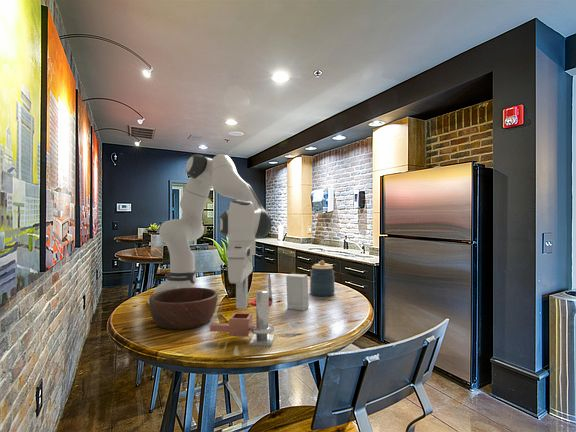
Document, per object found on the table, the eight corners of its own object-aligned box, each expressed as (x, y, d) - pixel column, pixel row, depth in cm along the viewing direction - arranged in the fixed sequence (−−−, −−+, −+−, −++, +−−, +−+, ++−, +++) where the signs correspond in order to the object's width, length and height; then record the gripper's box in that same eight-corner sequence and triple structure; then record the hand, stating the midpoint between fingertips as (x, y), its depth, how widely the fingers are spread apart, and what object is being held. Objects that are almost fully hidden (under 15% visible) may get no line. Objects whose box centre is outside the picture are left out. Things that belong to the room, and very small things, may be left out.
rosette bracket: (207, 344, 98) (207, 293, 98) (214, 335, 106) (214, 288, 106) (272, 346, 97) (272, 295, 97) (275, 336, 104) (275, 289, 104)
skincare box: (308, 307, 138) (309, 274, 138) (303, 311, 132) (303, 276, 132) (291, 305, 142) (292, 272, 142) (285, 308, 136) (285, 274, 136)
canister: (321, 289, 172) (321, 257, 172) (339, 294, 163) (339, 260, 163) (304, 293, 164) (304, 260, 164) (323, 298, 154) (323, 262, 154)
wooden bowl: (166, 310, 133) (166, 286, 133) (224, 311, 132) (224, 287, 132) (135, 332, 108) (135, 303, 108) (206, 333, 107) (207, 304, 107)
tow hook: (249, 306, 141) (271, 306, 140) (248, 276, 141) (269, 275, 141) (252, 301, 150) (273, 300, 149) (251, 272, 150) (272, 271, 150)
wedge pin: (235, 308, 100) (236, 277, 100) (238, 305, 103) (238, 275, 103) (245, 308, 100) (245, 277, 100) (247, 305, 103) (247, 275, 103)
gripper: (239, 246, 112) (239, 284, 112) (224, 252, 92) (224, 299, 92) (256, 246, 112) (256, 284, 112) (245, 252, 91) (245, 300, 91)
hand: (241, 291), depth 101 cm, fingers closed on wedge pin, 3 cm apart
